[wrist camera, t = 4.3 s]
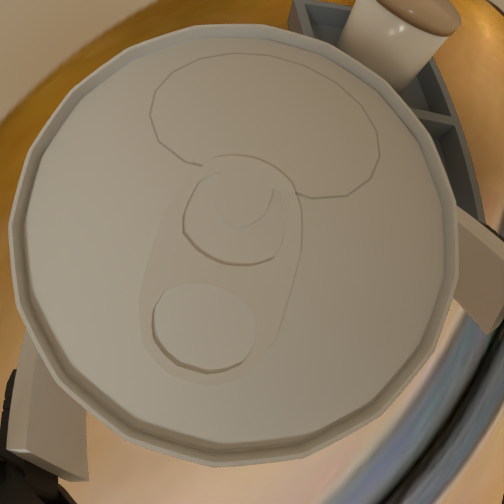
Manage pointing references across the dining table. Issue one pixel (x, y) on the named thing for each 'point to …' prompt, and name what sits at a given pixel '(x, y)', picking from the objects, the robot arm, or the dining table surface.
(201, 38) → the supplement can
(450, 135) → the divided grey tray
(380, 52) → the jar
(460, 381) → the dining table surface
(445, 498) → the dining table surface
